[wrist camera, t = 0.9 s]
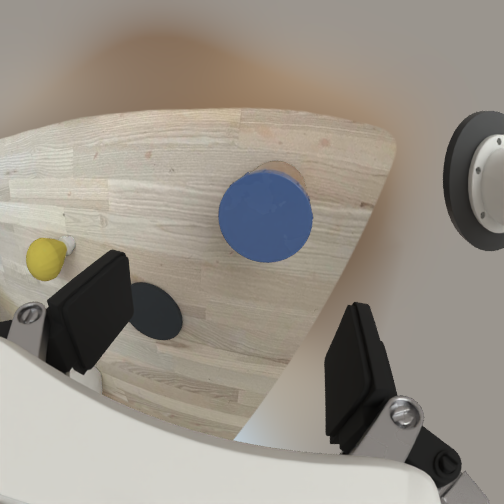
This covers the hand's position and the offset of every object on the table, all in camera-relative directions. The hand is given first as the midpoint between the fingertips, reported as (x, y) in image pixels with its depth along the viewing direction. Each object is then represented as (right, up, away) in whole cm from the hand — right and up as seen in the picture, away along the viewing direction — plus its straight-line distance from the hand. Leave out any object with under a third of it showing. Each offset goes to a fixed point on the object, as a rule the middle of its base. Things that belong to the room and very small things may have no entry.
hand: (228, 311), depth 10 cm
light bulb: (-30, +4, +28) cm, 41 cm away
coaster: (-15, -7, +31) cm, 35 cm away
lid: (+2, +5, +10) cm, 11 cm away
